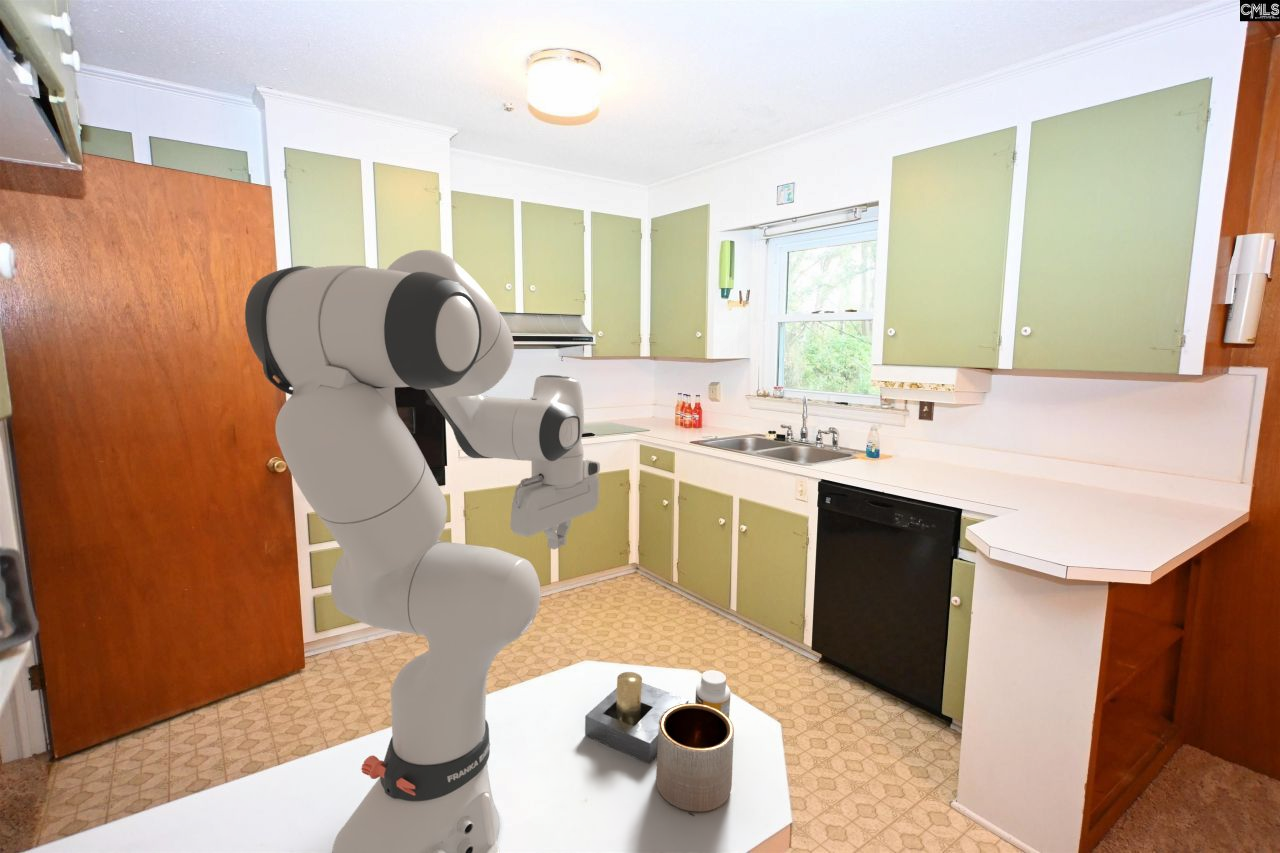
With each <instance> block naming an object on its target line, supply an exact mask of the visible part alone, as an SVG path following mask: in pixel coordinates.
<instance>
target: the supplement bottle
mask: <svg viewBox="0 0 1280 853" xmlns="http://www.w3.org/2000/svg"><path fill="white" fill-rule="evenodd" d="M700 678H701V680H700V682H699V683H698V684H697V685H696V688H695V702H694V704H703V705H707V706H710V707H713V708H715V709H717V710H719V711H721V712H722V713H724V714H725V715H726V716H727V717H728V718H729V719H730V710H731V708H730V707H731V689H730V687H729V686H728V685H727V676H726V674H724V673H723V672H721V671H719V670H718V671H717V670H714V669H713V670H711V669H709V670H706V671H704V672H703V673H702V675H701V677H700Z"/></svg>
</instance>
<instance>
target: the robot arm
mask: <svg viewBox="0 0 1280 853" xmlns="http://www.w3.org/2000/svg"><path fill="white" fill-rule="evenodd" d="M244 310H245V311H244V316H245V317H244V318H245V319H244V320H245V327H246V333H247V336H248V340H249V342H250V345H251V347H252V350H253V352H254V354H255V355H256V358H257V359H258V360H259V362H260V363H261V364H262V368H263V369H262V370H263V373H264V377H265V378H266V379H267V380H268V382H270V384H272V385H273V386H274V387H276V389H277V388H278V389H279V390H280V391H282V392H283V393H286V394H288V395H290V397H289V398H288V399H287V400H286V401H285V402H284V404H282V406H281V408H280V409H279V412H278V415H277V417H276V420H275V427H274V428H275V436H276V440H277V443H278V444H277V445H278V446H279V448H280V452H281V454H282V456H283V459H284V461H285V463H286V466H287V467H288V470H289V472H290V473H291V476H292V478H293V479H294V481H295V483H296V485H297V486H298V488H299V490H300V492H301V493H302V495H303V496H304V498H305V500H306V502H307V503H308V504H309V506H310V507H311V508H312V510H313V511H314V512H315V514H316V516H318V518H319V519H320V520H321V522H322V523H323V525H324V526H325V527H326V529H327V530H328V532H329V533H330V534H331V536H332V537H333V538H334V540H335V542H337V544H338V546H339V547H340V548H341V550H342V551H343V553H342V554H341V555H340V557H339V559H338V560H337V562H336V564H335V566H334V568H333V571H332V575H331V582H330V591H331V596H332V597H331V598H332V600H333V603H334V606H335V607H336V609H337V610H338V611H339V612H340V613H342V614H343V615H344V616H347V617H349V618H352V619H354V620H355V621H358V622H360V623H362V624H365V625H368V626H371V627H373V628H377V629H381V630H382V629H384V630H389V631H395V632H401V633H406V634H412V635H419V636H423V637H425V638H426V640H427V644H428V651H426V652H423V653H421V654H420V655H418V656H416V657H414V658H413V659H411V660H410V661H408V662H407V663H406V664H405V665H404V666H403V667H402V668H400V670H399V671H398V673H397V675H396V677H395V678H394V681H393V683H392V686H391V690H390V710H391V713H390V714H391V733H392V734H391V738H390V741H389V743H388V746H387V750H386V753H385V756H384V760H380V758H378V757H377V756H375V755H369V756H368V757H367V758H365V760H364V761H363V764H362V765H361V768H360V770H361V772H362V774H364V775H366V776H369V777H370V778H371V779H372V780H376V779H378V780H376V782H375V783H374V785H372V787H371V788H370V790H368V792H367V794H366V795H365V796H364V798H363V799H362V800H361V802H360V803H359V805H358V806H357V808H355V810H354V811H353V813H352V814H351V815H350V817H349V818H348V819H347V821H346V822H345V824H343V826H342V827H341V828H340V830H339V831H338V833H337V835H336V837H335V838H334V839H335V840H334V841H333V842H334V843H333V846H332V849H331V853H500V849H499V844H498V838H499V833H500V828H501V823H500V822H501V821H500V815H499V812H498V810H497V807H496V804H495V802H494V798H493V794H492V788H491V783H490V776H489V769H488V761H489V758H490V751H491V750H490V747H491V746H490V745H491V743H490V728H489V723H488V721H487V718H486V705H487V704H486V703H487V702H486V701H487V685H488V684H487V683H488V677H489V672H490V669H491V666H492V664H493V662H494V661H495V659H496V657H497V656H498V655H499V653H500V652H501V651H502V650H504V648H505V647H508V645H509V644H512V643H513V642H515V641H517V640H518V639H519V638H520V637H522V636H523V635H524V634H525V633H526V632H527V631H528V630H529V628H530V626H532V624H533V622H534V620H535V618H536V617H537V614H538V611H539V609H540V604H541V596H542V595H541V594H542V592H541V591H542V590H541V584H540V583H541V582H540V580H539V576H538V573H537V571H536V569H535V567H534V566H533V564H532V562H531V561H529V560H528V559H526V558H523V557H521V556H518V555H515V554H513V553H511V552H507V551H506V550H505V551H504V550H502V549H498V548H497V547H496V548H495V547H490V546H481V545H474V544H466V543H457V542H449V541H445V540H442V539H441V540H440V538H441V536H442V534H443V532H444V530H445V526H446V524H447V523H446V522H447V518H448V504H447V499H446V497H445V495H444V493H443V492H442V490H441V487H440V485H439V483H438V482H437V479H436V478H435V476H434V474H433V472H432V470H431V469H430V466H429V464H428V463H427V460H426V457H425V456H424V454H423V453H422V450H421V449H420V447H419V445H418V443H417V441H416V439H415V438H414V437H413V435H412V434H411V431H410V430H409V429H408V427H407V426H406V424H405V422H404V421H403V420H402V418H401V417H400V416H399V413H398V410H397V404H396V394H395V390H396V389H395V388H407V387H408V388H409V387H410V388H412V389H415V390H424V391H425V393H426V394H427V395H428V397H429V399H430V400H431V401H432V402H433V404H434V405H435V407H436V408H437V410H439V412H440V413H441V415H442V416H443V417H444V419H445V420H446V422H447V424H449V426H450V427H451V429H452V431H453V435H454V438H455V440H456V442H457V444H458V446H459V447H460V449H461V450H462V452H464V454H465V455H466V456H468V457H469V458H471V459H499V460H500V459H503V460H513V461H514V460H515V461H528V462H531V476H530V477H526V478H525V477H524V478H522V479H521V480H520V483H519V484H518V485H517V487H515V489H514V494H513V498H512V502H511V512H510V524H509V525H510V530H511V531H512V533H513V534H515V535H517V536H522V537H526V538H528V537H529V538H530V537H532V536H534V535H537V534H540V533H541V532H543V534H545V537H547V546H548V549H551V550H556V549H558V548H561V547H563V546H565V545H566V544H567V535H568V533H569V532H570V528H571V526H572V520H574V519H575V518H578V517H581V516H583V515H585V514H588V513H590V512H593V511H595V510H597V508H598V504H599V498H600V497H599V496H600V477H599V475H598V474H599V473H600V471H601V464H600V461H596V460H592V459H588V458H584V447H583V444H582V436H583V432H584V430H585V428H584V427H585V415H584V413H585V412H584V411H585V410H584V400H583V399H584V398H583V392H582V387H581V382H580V381H579V380H578V379H575V378H574V377H571V376H562V375H556V374H555V375H554V374H549V375H548V374H547V375H540V376H537V377H536V378H535V381H534V385H533V394H532V396H531V397H530V399H529V398H527V399H525V398H523V399H522V398H510V397H509V398H508V397H507V398H506V397H494V396H493V397H492V396H487V395H482V394H483V393H486V392H487V391H490V390H491V389H492V388H494V387H495V386H496V385H498V383H499V382H501V380H502V379H503V378H504V377H505V375H506V374H507V373H508V371H509V369H510V367H511V364H512V363H513V362H512V361H513V358H514V352H515V344H514V342H515V341H514V339H513V338H514V337H513V334H512V331H511V329H510V326H509V325H508V323H507V321H506V320H505V318H504V317H503V315H502V314H501V312H500V311H499V309H498V308H497V307H496V305H495V304H494V303H493V301H492V300H491V298H490V297H489V295H488V294H487V293H486V291H484V289H483V288H482V287H481V285H480V284H479V283H478V282H477V281H476V280H475V278H474V277H472V275H470V274H469V272H467V271H466V269H464V268H463V267H462V266H461V265H460V264H459V263H457V261H455V260H454V259H453V258H451V257H450V256H448V255H447V254H445V253H442V252H440V251H436V250H431V249H419V250H414V251H410V252H408V253H405V254H404V255H401V256H400V257H398V258H397V259H395V260H394V261H393V262H392V263H391V264H390V265H389V266H388V267H387V268H386V269H385V268H373V267H369V266H366V265H329V266H328V265H327V266H319V267H318V266H317V267H316V266H315V267H313V266H307V265H297V266H292V267H288V268H282V269H280V270H276V271H274V272H273V271H272V272H271V273H268V274H267V275H264V276H263V277H261V278H260V279H259V280H257V281H256V282H255V283H254V285H253V286H252V287H251V289H250V290H249V293H248V295H247V298H246V303H245V308H244ZM275 378H276V379H277V380H278V381H279V382H278V381H277V380H276V379H275ZM290 388H292V389H290Z"/></svg>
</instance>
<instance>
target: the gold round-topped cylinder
mask: <svg viewBox="0 0 1280 853" xmlns="http://www.w3.org/2000/svg"><path fill="white" fill-rule="evenodd" d="M616 680H617V681H616V688H617V702H616V719H617V720H619V721H622V722H624V723H627V724H629V725H631V726H634V727H635V725H636V724H637V723H638V722H639V721H640V715H641V690H642V683H643V678H642V676H641V675H640V674H639V673H638V672H637V673H636V672H633V671H624V672H621V673H620V674H619V675H618V676H617V678H616Z"/></svg>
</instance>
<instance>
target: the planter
mask: <svg viewBox="0 0 1280 853" xmlns="http://www.w3.org/2000/svg"><path fill="white" fill-rule="evenodd" d="M734 734H735V729H734V725H733V723H732V721H731V719H730V717H729V718H728V717H727V716H726V715H725V714H724V713H722V712H721V711H719V710H717V709H715V708H713V707H710V706H707V705H703V704H695V702H694V703H691V702H690V703H689V702H688V704H681V705H677V706H674V707H672V708H670V709H668V710H667V711H665V712H664V713H663V714H662V716H661V718H660V720H659V729H658V751H657V756H656V768H655V769H656V772H655V778H656V779H655V782H656V787H657V790H658V792H659V793H660V795H661V796H662V798H663V799H664V800H666V801H667V802H668V803H669V804H671V805H672V806H674V807H676V808H678V809H681V810H683V811H687V812H694V813H697V812H698V813H700V812H701V813H703V812H708V811H711V810H715V809H717V808H718V807H721V805H723V804H724V803H726V801H727V800H728V798H729V797H730V795H731V790H732V786H733V785H732V784H733V762H734V761H733V759H734V757H733V755H734V740H735V735H734Z"/></svg>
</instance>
